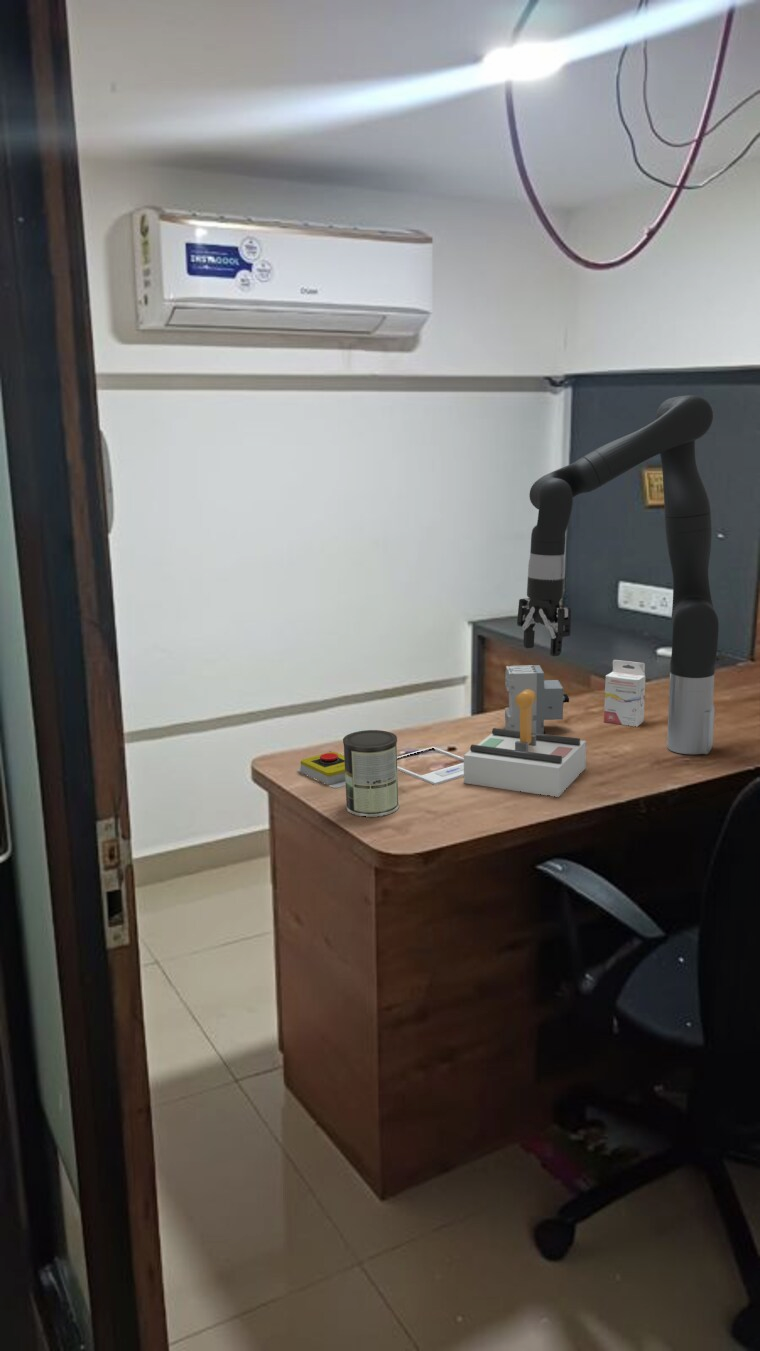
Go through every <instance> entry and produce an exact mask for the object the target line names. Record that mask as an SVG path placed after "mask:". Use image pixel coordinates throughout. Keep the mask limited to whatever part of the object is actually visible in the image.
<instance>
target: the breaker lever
mask: <svg viewBox="0 0 760 1351" xmlns="http://www.w3.org/2000/svg"><path fill="white" fill-rule="evenodd" d="M535 701H536V694H535V692H534V691H532V690H530V689H526V690H524V691H523V692H521V693H520V694H519V695H517V697H516V699H515V702H516V705H517V706H518V707H519V708H520V741H521V742H528V744H529V743H531V734H532V704H533V703H534V702H535Z"/></svg>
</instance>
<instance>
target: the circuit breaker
mask: <svg viewBox="0 0 760 1351" xmlns="http://www.w3.org/2000/svg"><path fill="white" fill-rule="evenodd" d="M504 676H505V677H504V680H505V681H504V684H505V689H506V692H507V693H508V706H507V707H505V708H504V715H505V716H504V720H505V723H504V724H505V725H504V727H505V729H506V730H514V731H520V708H519V707H518V706H517V705H516V702H515V699H516V697H517V695H519V694H520V693H521V692H523V691H524V690H526V689H530V690H532V691H534V692H535V694H536V701H535V702H534V703H533V704H532V733H539V734H544V732H545V730H544V729H545V728H544V725H545V723H544V721H551V720H554V721H556V720H563V719H564V704H565V703H570V698H569V695H568V694H565V693H564V687H563V686H562V684H561V682H560V681H559V680H558V679H545V673H544V671H543V668H542V667H541V665H539V664H538V665H537V664H536V665H534V664H533V665H532V664H531V665H529V664H528V665H506V667H505V673H504Z"/></svg>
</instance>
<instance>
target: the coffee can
mask: <svg viewBox="0 0 760 1351" xmlns="http://www.w3.org/2000/svg"><path fill="white" fill-rule="evenodd" d="M342 743H343V754H344V759H345V781H346V786H345V797H346V798H345V799H346V806H345V807H346V811H347V812H348V813H349V812H350V813H349V814H351V813H352V814H351V815H353V814H355V815H354V816H356V815H359V816H358V817H361V816H366V817H365V818H376V817H377V816H380V817H384V816H383V815H385V816H388V815H391V814H393V813H395V812H396V811H397V810H398V809H399V807H400V804H399V783H398V778H399V777H398V770H397V766H398V759H397V757H398V747H397V743H398V736H397V735H396V734H395V733H392V732H390V731H386V730H380V729H379V730H378V729H368V730H365V729H364V730H359V731H355V732H350V733H349V734H346V735H345V736H344V737H343V739H342ZM377 818H378V817H377Z"/></svg>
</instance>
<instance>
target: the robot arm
mask: <svg viewBox="0 0 760 1351" xmlns="http://www.w3.org/2000/svg"><path fill="white" fill-rule="evenodd" d="M713 413H714V412H713V408H712V406H711V404H710V402H708V401H707V399H705V398H703V397H701V396H699V395H694V394H692V395H691V394H690V395H689V394H686V395H685V394H684V395H679V396H674V397H673V396H672V397H669V398H668V399H665V400H664V401H663V402H662V403H661V404H660V405H659V407H658V409H657V410H656V413H655V420H654V421H652V422H651V423H649V424H647V425H645V426H643V427H642V428H639V429H638V430H636V431H635V430H634V431H633V432H631V433H629V434H626V435H624V436H622V437H620V438H619V437H618V438H617V439H615V440H613V441H610V442H608V443H606V444H604V445H601V446H600V447H597V448H596V449H594V450H592V451H590V452H588V453H587V454H585V455H583V456H582V457H580V458H579V459H577V460H576V461H574V462H572V463H570V464H568V465H565V466H562V467H561V468H558V469H556V470H553V471H551V472H549V473H547V474H545V475H543V476H542V477H540V478H538V479H537V480H535V482H534V483H532V485H531V487H530V491H529V494H528V495H529V500H530V503H531V504H532V506H534V507H535V509H536V510H538V514H537V523H536V525H534V526H533V527H532V530H531V536H530V551H529V552H530V554H529V560H528V565H527V567H528V568H527V584H526V585H527V588H526V598H525V597H524V598H519V599H518V609H517V610H518V611H517V621H516V625H517V626H518V627H521V628H522V630H523V641H522V642H523V647H524V648H525V649H533V648H534V647H535V635H536V634H535V628H536V626H537V625H538V624H541V625H544V626H545V629H546V630H547V631H549V634H550V636H551V638H550V649H549V650H550V652H549V653H550V654H549V655H550V656H552V657H558V656H559V657H560V655H561V653H562V648H563V639H564V638H567V637H570V636H571V628H572V627H571V622H572V621H571V619H572V618H571V617H572V610H571V609H572V608H571V607H568V606H567V607H561V605H560V601H561V600H562V599H563V598H564V590H565V575H566V574H565V572H566V561H565V560H566V558H565V556H566V553H565V552H566V537H567V536H566V533H567V529H568V526H569V522H570V518H571V514H572V509H573V500H574V499H573V498H574V497H576V496H578V495H580V494H587V493H590V492H592V491H595V490H597V489H599V488H600V487H602V486H604V485H606V484H607V483H610V482H611V481H613V480H614V479H616V478H618V477H619V476H621V475H623V474H625V473H626V472H628V471H630V470H631V469H633V468H636V466H638V465H640V464H642V463H644V462H646V461H648V460H649V459H652V458H653V457H655V456H656V457H657V455H660V457H659V458H660V461H661V471H662V473H661V474H662V488H663V504H664V509H663V510H664V523H665V525H664V526H665V528H664V529H665V537H666V538H665V539H666V545H667V552H668V557H669V558H668V559H669V561H670V566H671V572H672V605H671V606H672V608H671V625H672V637H671V638H672V639H671V640H672V641H671V657H670V662H669V689H668V694H669V695H668V709H667V710H668V713H667V715H668V716H667V733H666V734H667V736H666V740H667V741H666V748H667V749H668V750H669V751H670V752H673V753H677V754H680V755H681V754H682V755H683V754H684V755H709V753H710V751H711V750H712V748H713V747H714V746H713V744H714V731H715V730H714V726H715V709H716V708H715V705H714V690H715V689H714V688H715V674H716V672H715V671H716V663H717V657H718V646H719V645H718V642H719V628H720V626H719V624H720V623H719V617H718V614H717V612H716V610H715V607H714V604H713V600H712V595H711V587H710V579H709V578H710V577H709V566H710V558H711V551H712V550H711V548H712V517H711V516H712V514H711V513H712V512H711V504H710V499H709V496H708V493H707V490H706V488H705V485H704V483H703V481H702V479H701V475H700V473H699V470H698V466H697V461H696V446H695V444H696V440H698V439H701V438H702V437H703V436H704V435H706V434H707V433H708V431H709V430H710V428H711V425H712V423H713V419H714V414H713Z"/></svg>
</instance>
